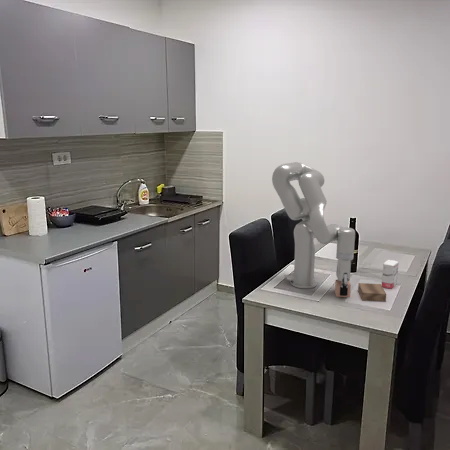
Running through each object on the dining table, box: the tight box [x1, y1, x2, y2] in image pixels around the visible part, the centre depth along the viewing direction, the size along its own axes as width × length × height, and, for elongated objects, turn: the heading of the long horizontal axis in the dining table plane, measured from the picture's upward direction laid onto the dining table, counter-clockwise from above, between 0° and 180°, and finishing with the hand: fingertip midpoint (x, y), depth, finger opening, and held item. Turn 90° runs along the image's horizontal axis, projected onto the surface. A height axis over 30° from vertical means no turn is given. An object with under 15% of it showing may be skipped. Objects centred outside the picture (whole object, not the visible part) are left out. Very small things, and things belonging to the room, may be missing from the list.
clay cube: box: [334, 279, 352, 298], centre depth 202 cm, size 6×6×6 cm
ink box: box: [381, 259, 400, 290], centre depth 213 cm, size 9×5×12 cm, turn 142°
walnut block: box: [357, 282, 387, 303], centre depth 201 cm, size 10×12×4 cm
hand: (342, 292), depth 203 cm, fingers closed on clay cube, 6 cm apart
